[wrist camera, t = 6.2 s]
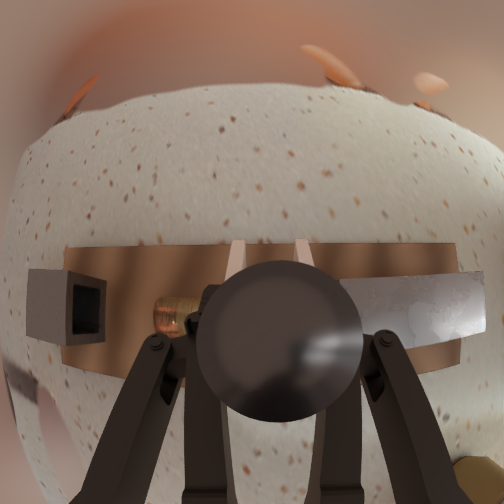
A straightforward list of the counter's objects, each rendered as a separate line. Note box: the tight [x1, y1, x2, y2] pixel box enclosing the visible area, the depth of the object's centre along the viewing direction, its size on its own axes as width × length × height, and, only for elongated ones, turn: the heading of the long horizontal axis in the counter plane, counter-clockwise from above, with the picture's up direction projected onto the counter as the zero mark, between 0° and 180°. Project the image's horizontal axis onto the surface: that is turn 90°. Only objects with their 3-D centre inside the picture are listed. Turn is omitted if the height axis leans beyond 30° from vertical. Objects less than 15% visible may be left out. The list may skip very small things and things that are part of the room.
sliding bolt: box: [153, 260, 363, 423], centre depth 13 cm, size 27×3×19 cm, turn 90°
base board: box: [61, 243, 461, 387], centre depth 25 cm, size 46×14×2 cm, turn 90°
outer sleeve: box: [336, 271, 486, 349], centre depth 21 cm, size 15×6×6 cm, turn 90°
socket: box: [26, 269, 107, 346], centre depth 22 cm, size 6×7×7 cm
